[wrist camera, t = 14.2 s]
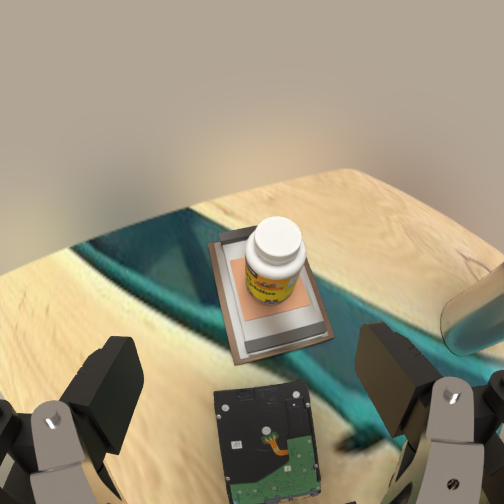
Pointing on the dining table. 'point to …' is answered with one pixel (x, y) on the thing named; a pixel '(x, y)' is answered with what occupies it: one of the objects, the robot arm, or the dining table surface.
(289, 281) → the supplement bottle
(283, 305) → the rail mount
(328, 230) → the dining table surface
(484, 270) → the dining table surface
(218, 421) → the disk drive
